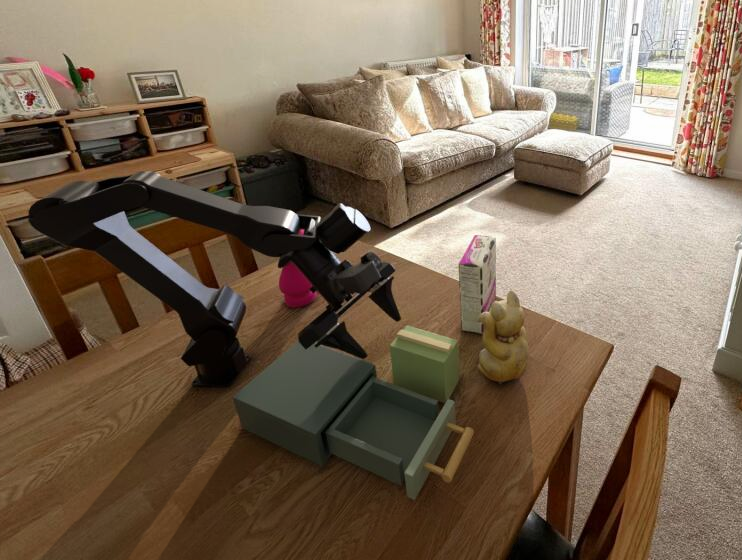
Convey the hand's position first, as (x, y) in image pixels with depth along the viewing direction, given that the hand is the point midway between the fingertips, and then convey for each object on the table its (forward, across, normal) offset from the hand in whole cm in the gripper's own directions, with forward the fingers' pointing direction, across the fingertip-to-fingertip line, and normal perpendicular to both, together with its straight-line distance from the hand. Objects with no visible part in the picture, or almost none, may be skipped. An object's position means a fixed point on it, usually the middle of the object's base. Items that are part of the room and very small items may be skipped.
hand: (383, 338), depth 69 cm
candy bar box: (+12, +19, -1) cm, 23 cm away
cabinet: (+1, -11, +10) cm, 14 cm away
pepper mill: (-16, +9, +26) cm, 32 cm away
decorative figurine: (+19, +8, -8) cm, 23 cm away
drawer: (+13, -11, -3) cm, 17 cm away
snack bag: (+11, 0, 0) cm, 11 cm away
